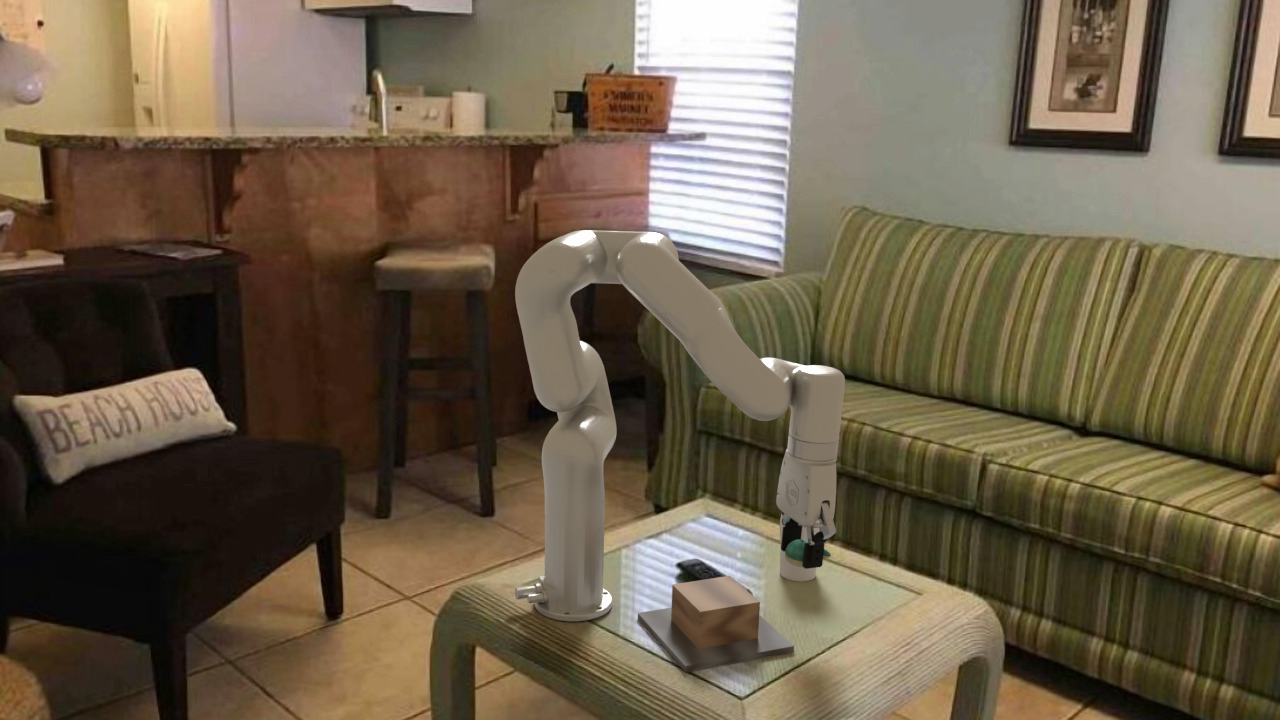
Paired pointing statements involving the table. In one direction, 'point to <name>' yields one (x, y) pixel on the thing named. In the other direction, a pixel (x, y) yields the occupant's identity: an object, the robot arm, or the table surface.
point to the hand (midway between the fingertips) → (801, 557)
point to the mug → (791, 570)
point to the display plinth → (712, 653)
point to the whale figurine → (798, 553)
